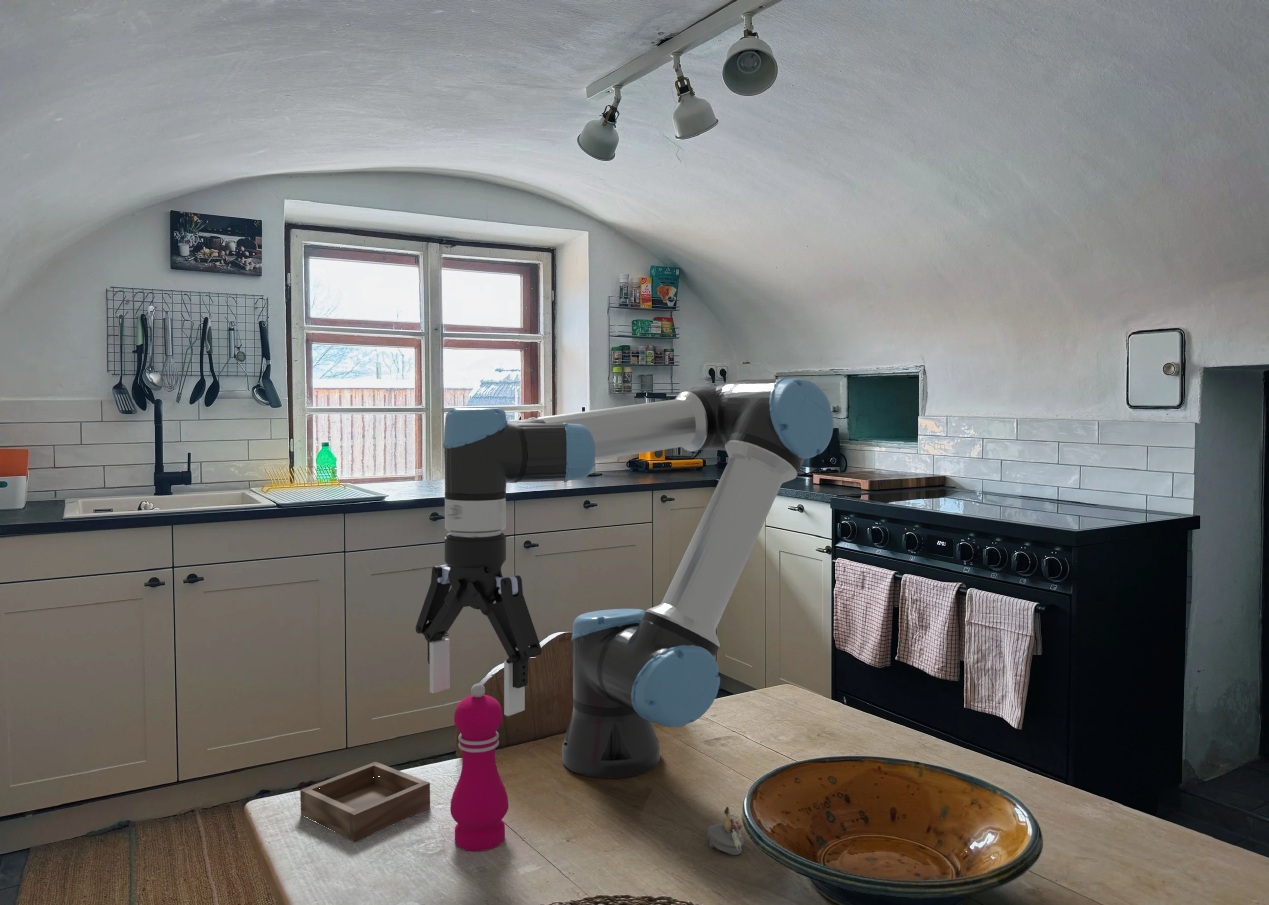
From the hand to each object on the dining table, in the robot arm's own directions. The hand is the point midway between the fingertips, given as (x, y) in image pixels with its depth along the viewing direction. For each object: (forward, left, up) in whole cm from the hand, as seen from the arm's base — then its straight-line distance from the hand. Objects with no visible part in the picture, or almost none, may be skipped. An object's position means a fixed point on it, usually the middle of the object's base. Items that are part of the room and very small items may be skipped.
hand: (475, 701), depth 113 cm
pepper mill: (0, 0, -18) cm, 18 cm away
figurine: (-26, -17, -18) cm, 36 cm away
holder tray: (+18, +4, -18) cm, 25 cm away
